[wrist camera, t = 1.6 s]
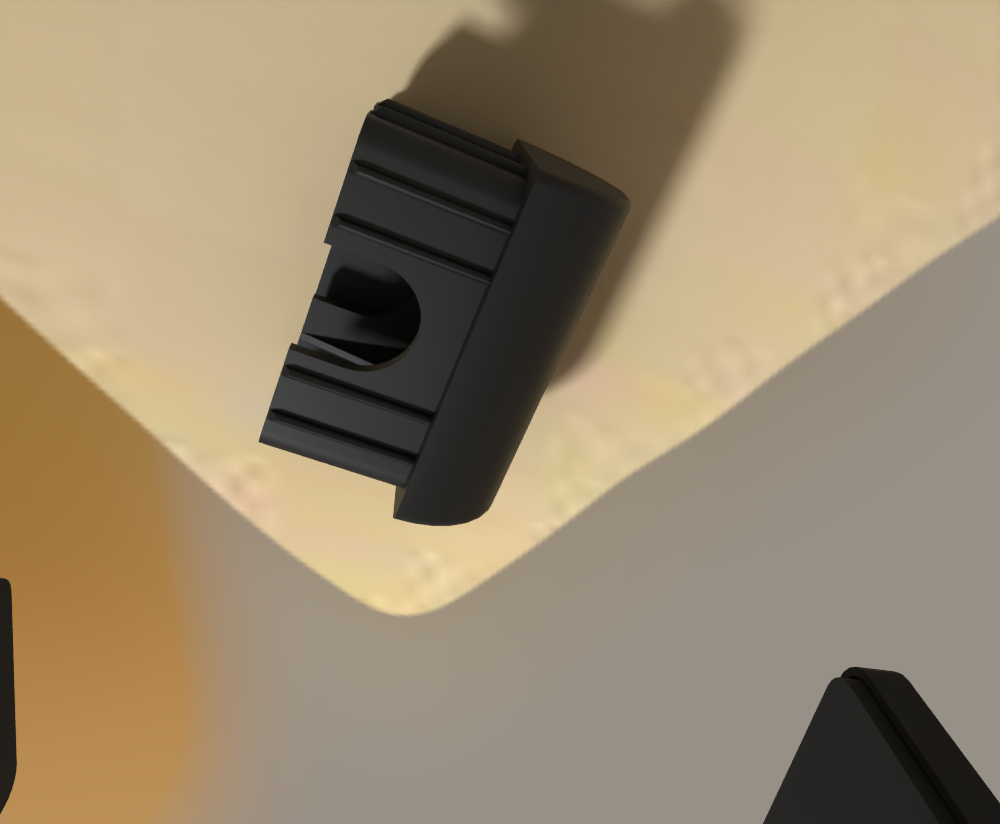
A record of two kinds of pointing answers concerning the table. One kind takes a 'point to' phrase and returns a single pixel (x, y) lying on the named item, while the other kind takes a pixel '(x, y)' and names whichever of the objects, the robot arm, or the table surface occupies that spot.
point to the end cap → (440, 310)
